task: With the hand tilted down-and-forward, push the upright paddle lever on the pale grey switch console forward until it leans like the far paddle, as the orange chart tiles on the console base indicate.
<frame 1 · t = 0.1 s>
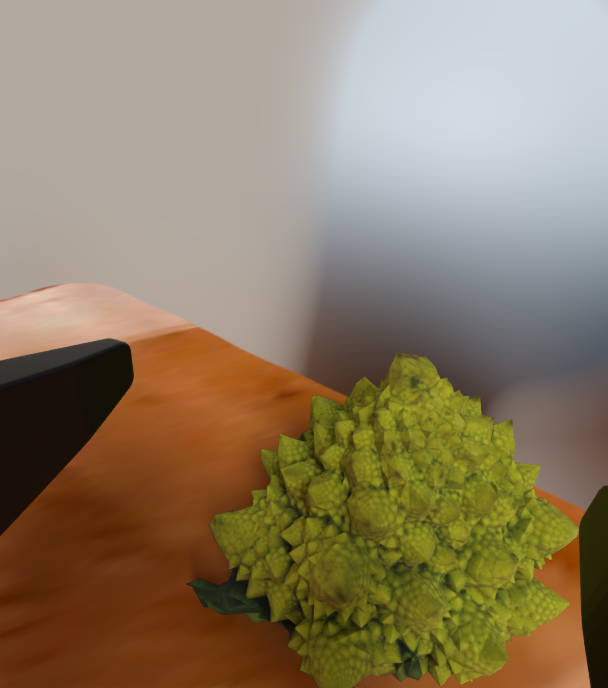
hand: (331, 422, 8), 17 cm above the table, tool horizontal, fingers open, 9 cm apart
vegetable: (375, 583, 23), on the table
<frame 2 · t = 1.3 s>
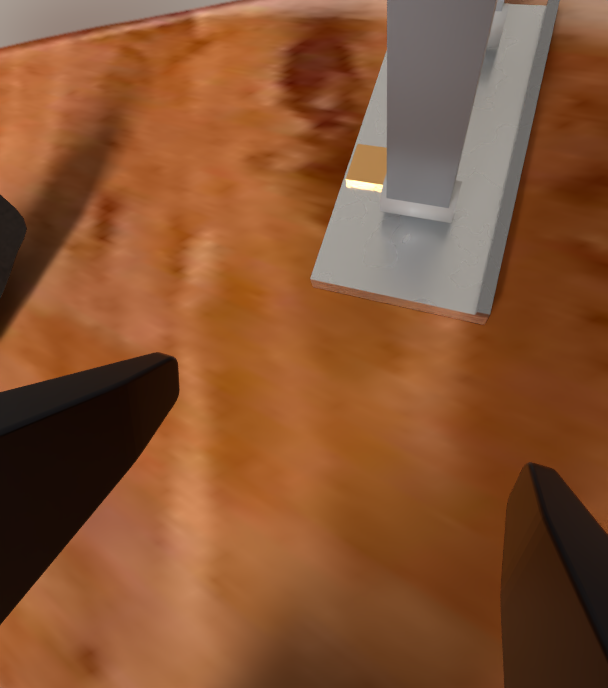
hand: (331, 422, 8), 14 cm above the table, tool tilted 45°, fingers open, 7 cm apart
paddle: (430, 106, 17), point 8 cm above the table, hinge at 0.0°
switch console: (438, 148, 26), on the table
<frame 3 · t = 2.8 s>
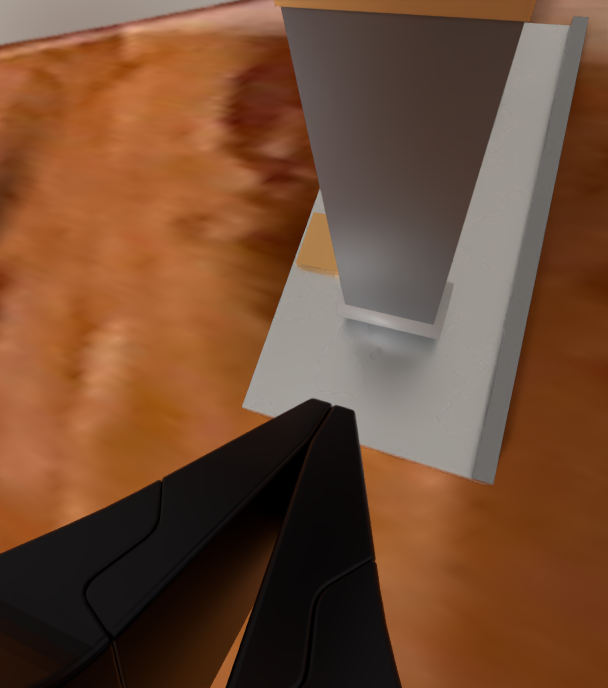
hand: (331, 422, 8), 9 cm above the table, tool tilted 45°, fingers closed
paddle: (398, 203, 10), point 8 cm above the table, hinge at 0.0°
switch console: (423, 217, 19), on the table
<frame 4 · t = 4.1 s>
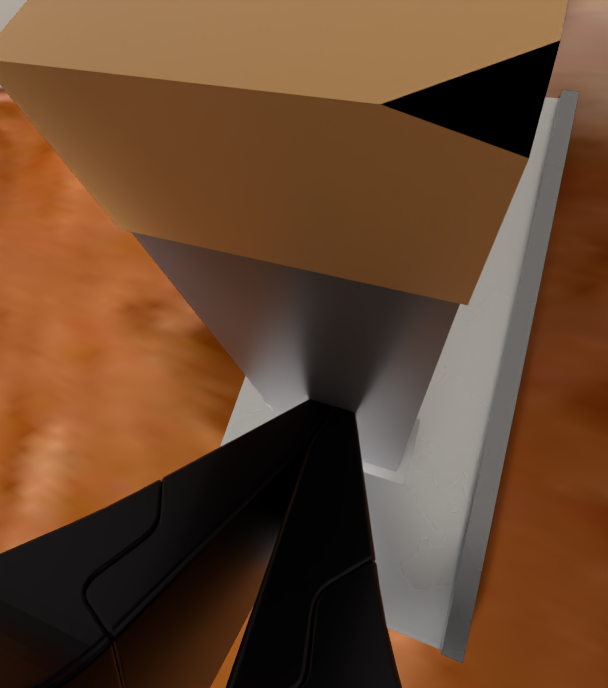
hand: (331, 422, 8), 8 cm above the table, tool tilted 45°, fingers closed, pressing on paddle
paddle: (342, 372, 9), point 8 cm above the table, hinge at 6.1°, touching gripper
switch console: (394, 314, 17), on the table
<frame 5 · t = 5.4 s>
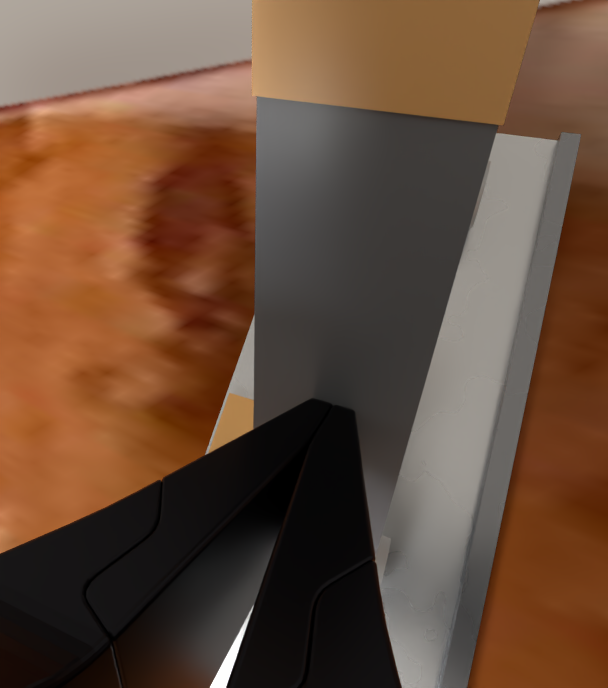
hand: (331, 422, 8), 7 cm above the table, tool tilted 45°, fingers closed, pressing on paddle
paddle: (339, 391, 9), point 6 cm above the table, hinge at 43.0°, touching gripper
switch console: (369, 391, 15), on the table
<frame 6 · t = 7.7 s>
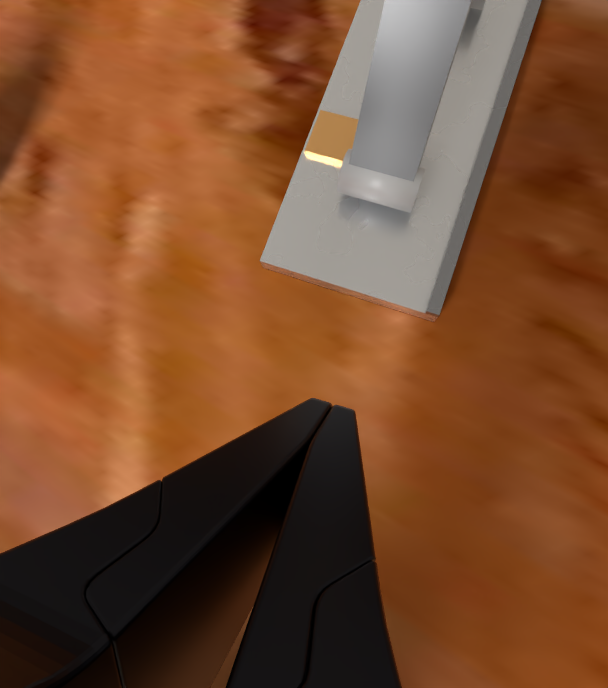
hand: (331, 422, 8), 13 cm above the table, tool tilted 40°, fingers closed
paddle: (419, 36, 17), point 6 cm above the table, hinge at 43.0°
switch console: (407, 121, 24), on the table
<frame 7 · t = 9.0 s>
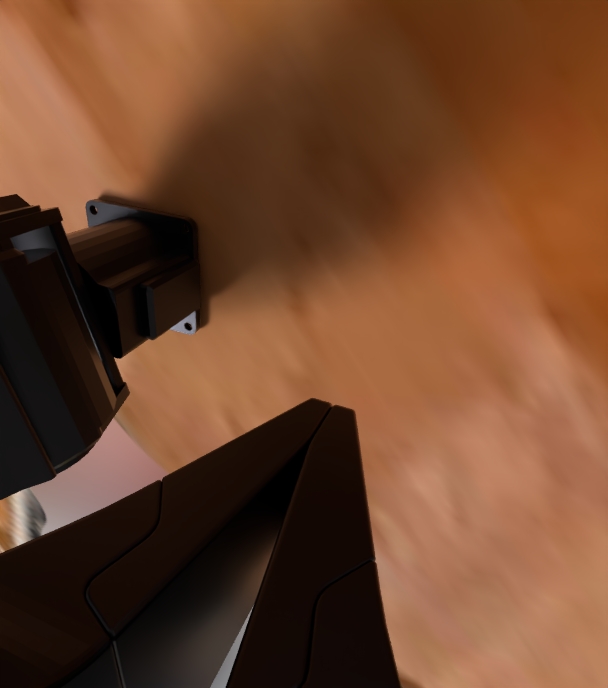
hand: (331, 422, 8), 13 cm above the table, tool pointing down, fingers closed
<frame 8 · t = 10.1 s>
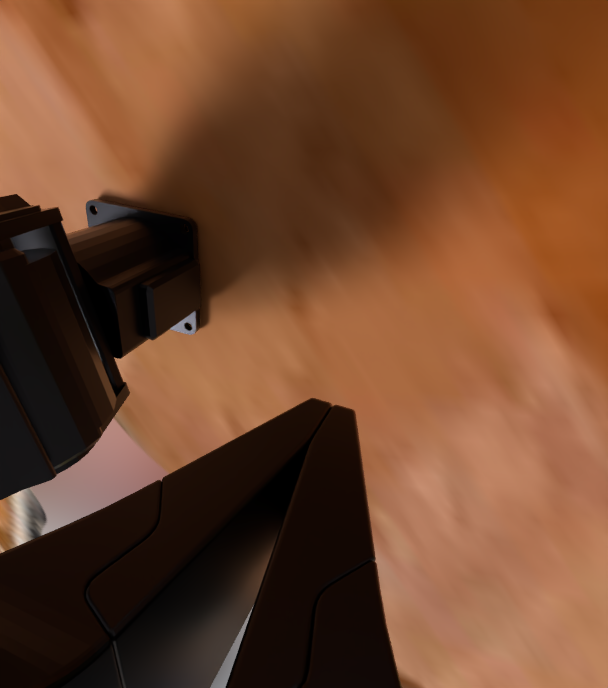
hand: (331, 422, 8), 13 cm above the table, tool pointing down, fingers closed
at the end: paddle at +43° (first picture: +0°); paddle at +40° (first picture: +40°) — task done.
